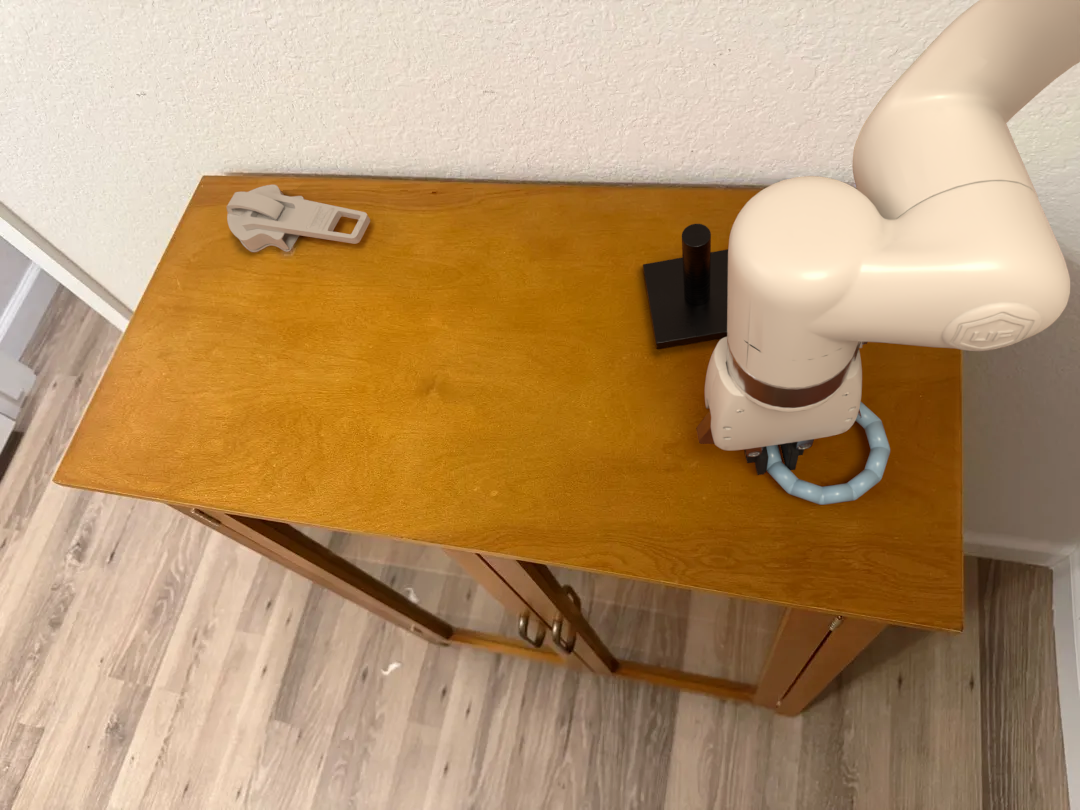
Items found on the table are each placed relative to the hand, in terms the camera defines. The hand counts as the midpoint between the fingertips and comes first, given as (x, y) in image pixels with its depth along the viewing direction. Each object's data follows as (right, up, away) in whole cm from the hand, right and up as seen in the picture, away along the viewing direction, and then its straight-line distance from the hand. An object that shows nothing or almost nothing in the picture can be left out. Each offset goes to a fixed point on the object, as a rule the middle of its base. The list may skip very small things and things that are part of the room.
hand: (772, 455), depth 64 cm
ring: (+4, +1, -1) cm, 4 cm away
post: (-4, +14, +9) cm, 17 cm away
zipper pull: (-46, +24, +23) cm, 57 cm away
